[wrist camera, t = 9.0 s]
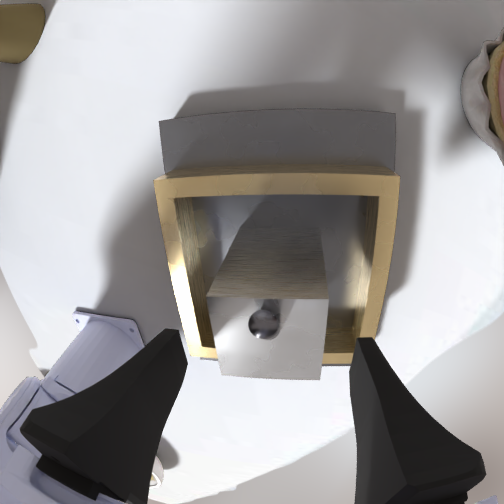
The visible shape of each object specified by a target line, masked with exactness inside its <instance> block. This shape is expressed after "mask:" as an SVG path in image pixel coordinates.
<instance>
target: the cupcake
mask: <svg viewBox="0 0 504 504" xmlns="http://www.w3.org/2000/svg"><path fill="white" fill-rule="evenodd" d="M461 100H462V105H463V109H464V112H465V115H466V117H467V119H468V121H469V124H470V126H471V128H472V129H473V130H474V132H475V133H476V134H477V135H478V137H479V138H480V139H481V140H482V141H484V142H485V143H486V144H487V145H488V146H490V147H491V148H492V149H494V150H495V151H496V152H497V154H498V156H499V158H500V160H501V162H502V164H503V166H504V27H503V29H502V30H501V32H500V34H499V36H498V37H497V39H496V41H490V40H487V41H485V42H483V46H482V50H481V53H480V55H479V56H477V57H476V58H475V59H473V60H472V61H471V62H470V63H469V65H468V66H467V68H466V69H465V72H464V74H463V77H462V82H461Z"/></svg>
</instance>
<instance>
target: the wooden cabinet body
mask: <svg viewBox="0 0 504 504" xmlns="http://www.w3.org/2000/svg"><path fill="white" fill-rule="evenodd" d="M159 127H160V137H161V145H162V154H163V162H164V170H165V174H164V175H162V176H160V177H158V178H157V179H155V180H153V181H154V188H155V194H156V200H157V206H158V212H159V218H160V224H161V229H162V235H163V240H164V245H165V250H166V255H167V260H168V265H169V270H170V274H171V279H172V283H173V288H174V292H175V297H176V301H177V305H178V309H179V313H180V317H181V321H182V325H183V329H184V333H185V337H186V341H187V344H188V348H189V352H190V355H191V356H198V357H200V358H201V359H204V360H214V361H218V356H217V351H216V346H215V341H214V336H213V331H212V326H211V321H210V316H209V310H208V305H207V300H206V295H207V293H208V291H209V289H210V287H211V285H212V283H213V281H214V279H215V277H216V275H217V273H218V271H219V269H220V267H221V265H222V263H223V261H224V259H225V257H226V255H227V252H228V250H229V248H230V246H231V244H232V242H233V240H234V238H235V236H236V234H237V232H238V230H239V228H320V234H321V241H322V248H323V255H324V263H325V271H326V279H327V287H328V296H329V304H328V315H327V325H326V335H325V344H324V352H323V360H322V366H351V362H352V358H353V354H354V349H355V344H356V339H357V337H372V338H373V339H374V340H375V336H376V332H377V328H378V323H379V319H380V315H381V310H382V305H383V301H384V296H385V291H386V285H387V280H388V274H389V269H390V263H391V256H392V250H393V243H394V235H395V227H396V219H397V210H398V199H399V187H400V176H399V175H397V174H396V173H394V167H395V133H396V117H395V113H385V112H374V111H360V110H340V109H272V110H252V111H238V112H226V113H215V114H206V115H198V116H190V117H183V118H176V119H169V120H163V121H159Z"/></svg>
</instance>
